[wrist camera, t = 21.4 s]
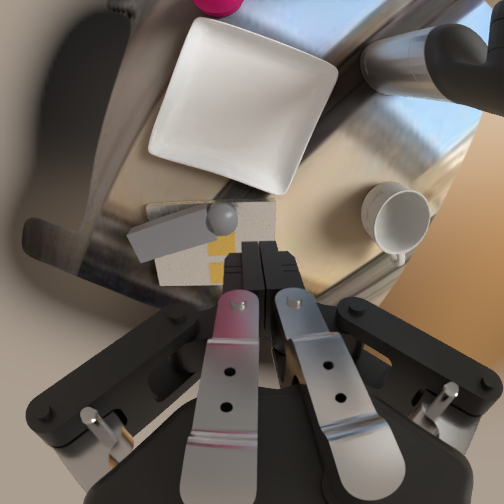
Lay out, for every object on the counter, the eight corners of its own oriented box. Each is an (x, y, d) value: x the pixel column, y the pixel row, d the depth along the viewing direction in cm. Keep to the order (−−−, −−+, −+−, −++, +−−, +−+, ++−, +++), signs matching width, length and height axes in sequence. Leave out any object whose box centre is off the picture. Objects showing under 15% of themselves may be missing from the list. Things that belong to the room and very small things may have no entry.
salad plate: (281, 192, 45) (285, 199, 42) (150, 150, 41) (144, 154, 38) (335, 70, 36) (342, 68, 33) (198, 20, 31) (195, 14, 28)
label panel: (274, 197, 45) (277, 204, 42) (271, 278, 53) (274, 289, 50) (148, 201, 44) (142, 209, 41) (161, 280, 52) (157, 291, 49)
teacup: (357, 174, 44) (379, 190, 37) (412, 176, 44) (438, 192, 37) (349, 250, 51) (365, 275, 44) (400, 247, 51) (420, 269, 44)
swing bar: (231, 194, 41) (231, 200, 39) (242, 225, 43) (242, 232, 41) (131, 227, 42) (126, 235, 40) (144, 254, 45) (140, 263, 43)
